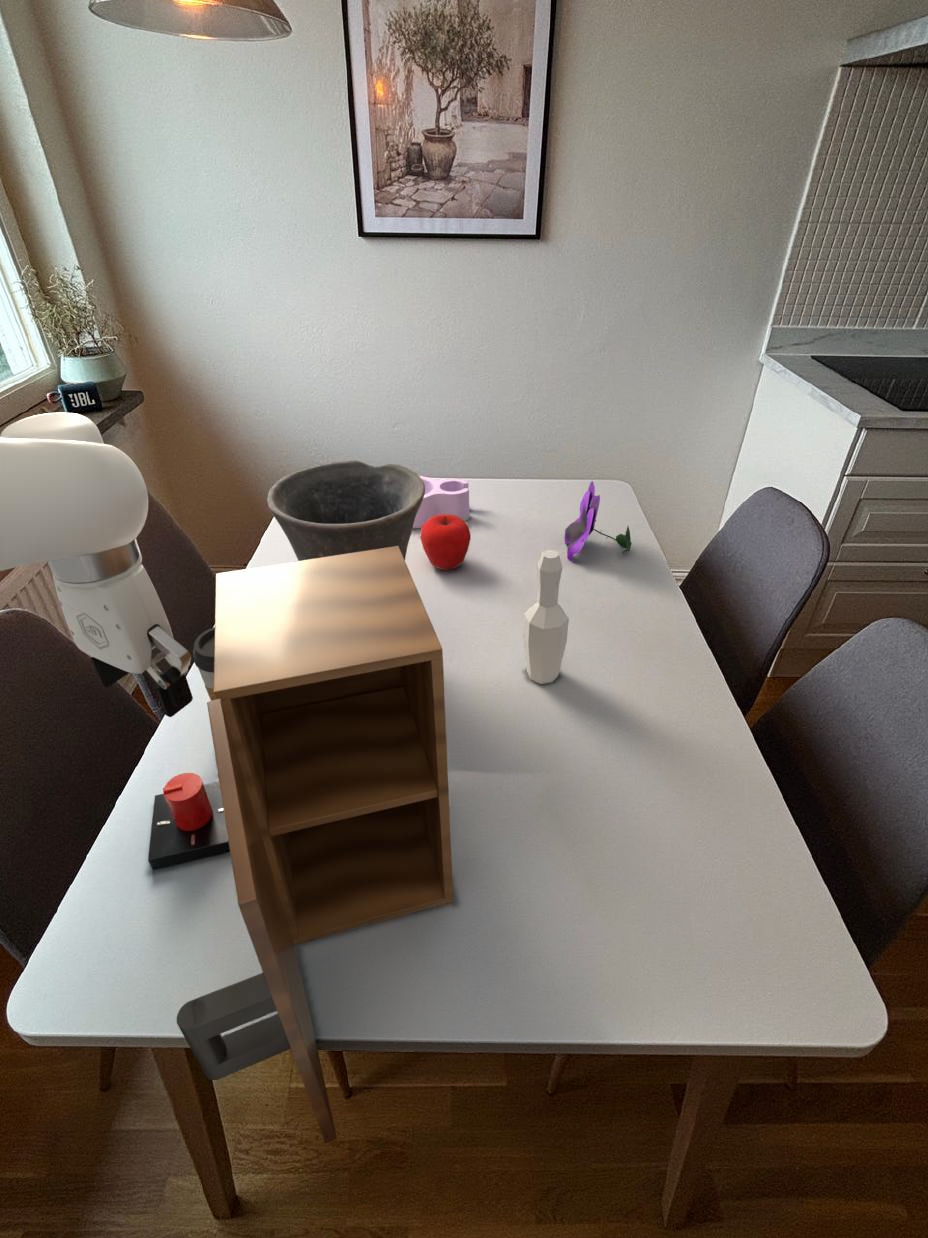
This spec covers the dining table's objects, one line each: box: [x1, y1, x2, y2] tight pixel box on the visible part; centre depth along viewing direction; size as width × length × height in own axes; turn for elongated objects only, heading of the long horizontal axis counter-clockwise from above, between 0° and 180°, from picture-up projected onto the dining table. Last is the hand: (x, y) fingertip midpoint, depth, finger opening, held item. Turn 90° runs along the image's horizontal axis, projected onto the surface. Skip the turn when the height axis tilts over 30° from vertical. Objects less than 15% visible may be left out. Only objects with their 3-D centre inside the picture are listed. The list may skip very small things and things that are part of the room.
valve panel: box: [147, 781, 230, 871], centre depth 85 cm, size 10×10×2 cm
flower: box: [564, 480, 633, 563], centre depth 137 cm, size 15×15×14 cm
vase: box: [266, 460, 425, 561], centre depth 104 cm, size 22×22×30 cm
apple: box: [419, 514, 472, 571], centre depth 133 cm, size 10×10×11 cm
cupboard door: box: [176, 699, 337, 1144], centre depth 54 cm, size 8×18×36 cm, turn 23°
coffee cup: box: [192, 626, 216, 701], centre depth 96 cm, size 8×8×15 cm
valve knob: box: [162, 772, 213, 831], centre depth 82 cm, size 4×4×6 cm
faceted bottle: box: [522, 549, 570, 685], centre depth 102 cm, size 6×6×22 cm
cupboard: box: [214, 546, 454, 946], centre depth 71 cm, size 18×18×36 cm
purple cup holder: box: [412, 475, 470, 530], centre depth 152 cm, size 20×12×7 cm, turn 91°
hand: (147, 693), depth 72 cm, fingers open, 9 cm apart
